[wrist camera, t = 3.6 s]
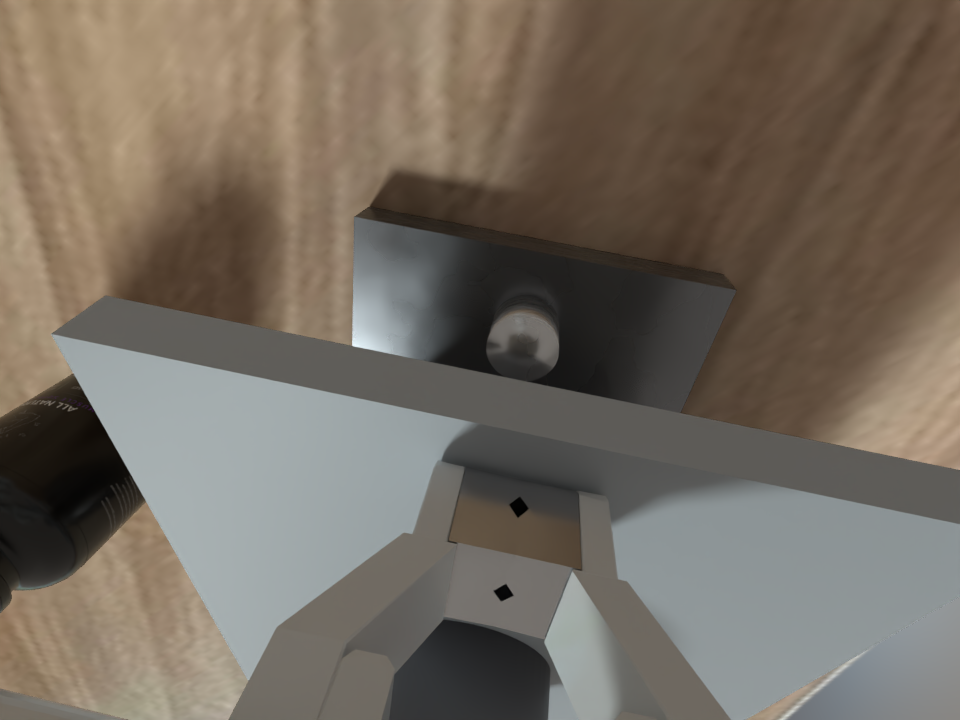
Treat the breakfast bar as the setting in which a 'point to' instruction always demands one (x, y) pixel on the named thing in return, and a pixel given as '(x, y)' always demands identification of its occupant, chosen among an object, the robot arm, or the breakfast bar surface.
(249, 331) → the plate
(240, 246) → the breakfast bar surface
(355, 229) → the stand
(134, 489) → the supplement bottle
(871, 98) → the breakfast bar surface
